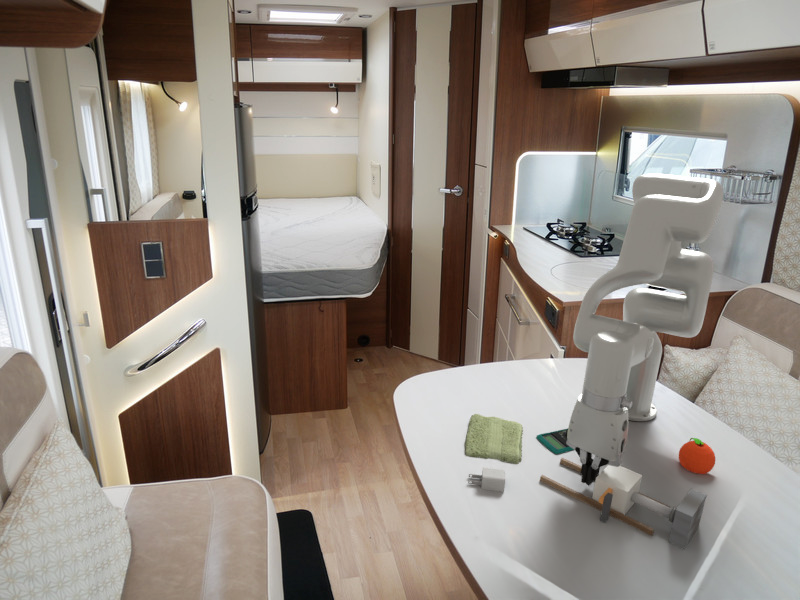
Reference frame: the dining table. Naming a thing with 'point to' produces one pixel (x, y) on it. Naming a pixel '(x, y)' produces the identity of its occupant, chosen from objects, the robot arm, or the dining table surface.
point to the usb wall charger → (490, 479)
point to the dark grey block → (606, 507)
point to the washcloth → (494, 439)
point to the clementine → (697, 456)
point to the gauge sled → (626, 491)
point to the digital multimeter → (555, 441)
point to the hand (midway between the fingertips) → (588, 480)
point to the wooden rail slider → (685, 513)
